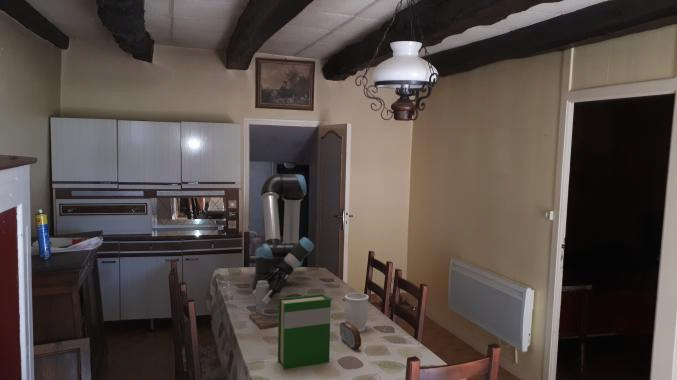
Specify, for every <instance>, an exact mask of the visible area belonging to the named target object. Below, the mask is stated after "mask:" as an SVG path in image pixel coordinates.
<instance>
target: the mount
mask: <svg viewBox="0 0 677 380" xmlns="http://www.w3.org/2000/svg"><path fill="white" fill-rule="evenodd" d="M278 311H279V307H278V308H277V307H269V308H265V309H263V310H261V311H260V313H253V314H249V315H248V318H249V319H250V320H251V321H252V322H253V323H254V324H255V325H256V326H257V327H258V329H260V330H265V329H272V328H277V327H278Z"/></svg>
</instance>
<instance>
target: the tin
mask: <svg viewBox="0 0 677 380" xmlns="http://www.w3.org/2000/svg"><path fill="white" fill-rule="evenodd" d="M339 333H340V334H339V335H340V337H341V340H342V341H343V343H344V344H346V345H347V346H348V347H349V348H350V349H353V350H356V349H360V348H361V346H362V337H361V334H360V333H361V332H359V331H358V329H357V328H356V327H355V326H353V325H352V324H351V323H349V322H348V321H346V320H345V321H343V322H341V323H340V325H339Z"/></svg>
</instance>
